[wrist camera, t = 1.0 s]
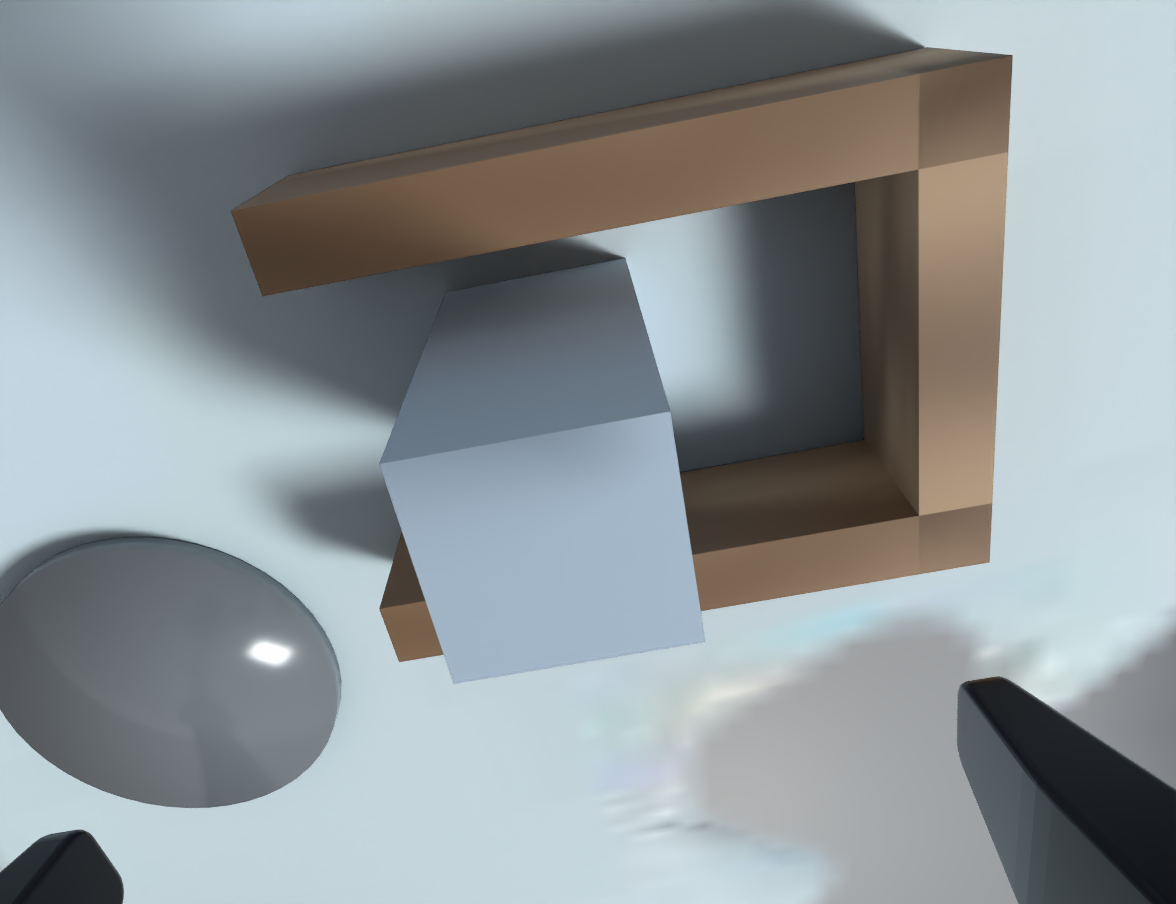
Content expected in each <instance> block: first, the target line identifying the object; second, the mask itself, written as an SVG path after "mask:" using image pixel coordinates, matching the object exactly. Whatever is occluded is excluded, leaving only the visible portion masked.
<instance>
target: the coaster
mask: <svg viewBox="0 0 1176 904" xmlns="http://www.w3.org/2000/svg"><path fill="white" fill-rule="evenodd" d="M340 700H341V676H340V670H339V664H338V661H337V658H336V655H335V652H334V649H333V647H332V645H331V643H330V641H329V639H328V637H327V635H326V633H325V631H324V630H323V628H322V627H321V625H320V624H319V623H318V621H317V620H316V618H315V617H314V615H313V614H312V613H311V612H310V611H309V610H308V609H307V608H306V607H305V606H304V604H303V603H302V602H301V601H300V600H299V599H298V598H297V597H295V596H294V595H293V594H292V593H291V592H290V591H289V590H287V589H286V588H285V587H284V586H283V585H281V584H280V583H278V582H277V581H275V580H274V579H273V578H271V577H270V576H268V575H267V574H265V573H264V572H262V571H260V570H258V569H256V568H255V567H253V566H251V565H249V564H247V563H245V562H244V561H241V560H239V559H237V558H234V557H232V556H229V555H227V554H225V553H222V552H220V551H216V550H213V549H210V548H207V547H203V546H200V545H197V544H192V543H187V542H182V541H177V540H171V539H161V538H151V537H124V538H116V539H108V540H100V541H96V542H92V543H88V544H84V545H80V546H77V547H75V548H72V549H69V550H67V551H64V552H62V553H59V554H58V555H56V556H54V557H52V558H50V559H49V560H47V561H45V562H43V563H42V564H41V565H39V566H38V567H37V568H35V569H34V570H33V571H32V572H30V573H29V574H28V575H27V576H26V577H25V578H24V579H23V580H22V581H21V582H20V583H19V584H18V586H17V587H16V588H15V589H14V590H13V591H12V592H11V593H10V594H9V595H8V597H7V598H6V599H5V600H4V601H3V602H2V604H1V605H0V709H1V711H2V712H3V714H4V716H5V718H6V719H7V720H8V722H9V723H10V724H11V725H12V727H13V728H14V729H15V731H16V732H17V733H18V734H19V735H20V736H21V737H22V738H23V739H24V740H25V741H26V742H27V743H28V744H29V745H30V746H31V747H32V748H33V749H34V750H35V751H36V752H38V753H39V754H40V755H41V756H43V757H44V758H45V759H46V760H47V761H49V762H50V763H52V764H53V765H55V766H56V767H58V768H59V769H61V770H62V771H64V772H65V773H67V774H69V775H71V776H73V777H75V778H77V779H78V780H80V781H82V782H84V783H86V784H88V785H91V786H93V787H95V788H98V789H100V790H102V791H105V792H108V793H111V794H114V795H117V796H120V797H123V798H126V799H130V800H135V801H139V802H143V803H148V804H154V805H161V806H167V807H182V808H209V807H218V806H227V805H232V804H237V803H241V802H246V801H250V800H253V799H256V798H259V797H262V796H265V795H267V794H269V793H271V792H274V791H276V790H278V789H280V788H282V787H284V786H285V785H287V784H288V783H290V782H292V781H293V780H295V779H296V778H297V777H299V776H300V775H301V774H302V773H303V772H305V771H306V770H307V769H308V768H309V767H310V766H311V765H312V764H313V763H314V761H315V760H316V759H317V758H318V757H319V755H320V754H321V752H322V751H323V749H324V747H325V746H326V744H327V742H328V740H329V737H330V735H331V732H332V730H333V727H334V724H335V720H336V717H337V714H338V710H339V705H340Z"/></svg>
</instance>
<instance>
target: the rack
mask: <svg viewBox="0 0 1176 904" xmlns="http://www.w3.org/2000/svg"><path fill="white" fill-rule="evenodd" d="M1011 77H1012V55H1004V54H993V53H982V52H972V51H961V50H950V49H939V48H928V47H926V48H921V49H916V50H911V51H906V52H901V53H896V54H891V55H886V56H881V57H876V58H871V59H866V60H861V61H856V62H851V63H846V64H841V65H836V66H831V67H826V68H821V69H816V70H811V71H806V72H802V73H797V74H792V75H787V76H782V77H777V78H772V79H767V80H762V81H757V82H752V83H747V84H742V85H737V86H732V87H727V88H722V89H717V90H712V91H707V92H702V93H697V94H692V95H687V96H682V97H677V98H672V99H667V100H662V101H657V102H652V103H647V104H642V105H637V106H632V107H627V108H622V109H617V110H612V111H607V112H602V113H597V114H592V115H587V116H582V117H577V118H572V119H567V120H562V121H557V122H552V123H547V124H542V125H537V126H532V127H527V128H522V129H517V130H512V131H507V132H502V133H497V134H492V135H487V136H482V137H477V138H472V139H467V140H462V141H457V142H452V143H447V144H442V145H437V146H432V147H428V148H423V149H418V150H413V151H408V152H403V153H398V154H393V155H388V156H383V157H378V158H373V159H368V160H363V161H358V162H353V163H348V164H343V165H338V166H333V167H328V168H323V169H318V170H313V171H308V172H303V173H298V174H293V175H288V176H287V177H285V178H283V179H282V180H280V181H279V182H277V183H275V184H274V185H272V186H270V187H269V188H267V189H266V190H264V191H262V192H261V193H259V194H257V195H256V196H254V197H253V198H251V199H249V200H248V201H246V202H244V203H243V204H241V205H240V206H238V207H236V208H235V209H233V210H231V213H232V216H233V218H234V221H235V224H236V226H237V229H238V232H239V234H240V237H241V240H242V242H243V245H244V248H245V250H246V253H247V256H248V258H249V261H250V264H251V266H252V269H253V272H254V274H255V277H256V280H257V282H258V285H259V288H260V291H261V293H262V296H267V295H272V294H277V293H282V292H287V291H292V290H298V289H303V288H308V287H313V286H318V285H324V284H329V283H334V282H339V281H344V280H349V279H355V278H360V277H365V276H370V275H375V274H380V273H386V272H391V271H396V270H401V269H406V268H411V267H417V266H422V265H427V264H432V263H437V262H442V261H448V260H453V259H458V258H463V257H468V256H473V255H479V254H484V253H489V252H494V251H499V250H505V249H510V248H515V247H520V246H525V245H530V244H536V243H541V242H546V241H551V240H556V239H561V238H567V237H572V236H577V235H582V234H587V233H592V232H598V231H603V230H608V229H613V228H618V227H623V226H629V225H634V224H639V223H644V222H649V221H655V220H660V219H665V218H670V217H675V216H680V215H686V214H691V213H696V212H701V211H706V210H711V209H717V208H722V207H727V206H732V205H737V204H742V203H748V202H753V201H758V200H763V199H768V198H773V197H779V196H784V195H789V194H794V193H799V192H805V191H810V190H815V189H820V188H825V187H830V186H836V185H841V184H846V183H851V182H855V202H856V230H857V258H858V286H859V315H860V343H861V371H862V399H863V428H864V440H862V441H856V442H850V443H845V444H839V445H834V446H828V447H822V448H817V449H811V450H805V451H800V452H794V453H788V454H783V455H777V456H772V457H766V458H760V459H755V460H749V461H743V462H738V463H732V464H727V465H721V466H715V467H710V468H704V469H698V470H693V471H687V472H682V473H680V479H681V485H682V492H683V498H684V505H685V511H686V518H687V525H688V531H689V538H690V544H691V551H692V557H693V564H694V571H695V577H696V584H697V590H698V597H699V603H700V610H701V611H704V610H710V609H716V608H722V607H728V606H734V605H740V604H746V603H751V602H757V601H763V600H769V599H775V598H781V597H787V596H793V595H799V594H805V593H811V592H817V591H822V590H828V589H834V588H840V587H846V586H852V585H858V584H864V583H870V582H876V581H882V580H887V579H893V578H899V577H905V576H911V575H917V574H923V573H929V572H935V571H941V570H947V569H953V568H958V567H964V566H970V565H976V564H982V563H988V562H990V540H991V518H992V496H993V474H994V452H995V430H996V408H997V386H998V364H999V342H1000V320H1001V298H1002V276H1003V254H1004V232H1005V210H1006V188H1007V166H1008V144H1009V122H1010V100H1011ZM380 612H381V615H382V617H383V620H384V623H385V625H386V628H387V631H388V633H389V636H390V639H391V641H392V644H393V647H394V649H395V652H396V655H397V657H398V660H399V662H403V661H409V660H414V659H420V658H426V657H432V656H438V655H444V654H443V651H442V648H441V645H440V642H439V639H438V636H437V633H436V630H435V627H434V624H433V621H432V618H431V616H430V613H429V610H428V607H427V604H426V601H425V598H424V595H423V592H422V589H421V586H420V583H419V580H418V577H417V574H416V571H415V568H414V565H413V562H412V559H411V557H410V554H409V551H408V548H407V545H406V542H405V539H404V536H403V533H401V536H400V540H399V543H398V547H397V550H396V554H395V557H394V560H393V564H392V567H391V571H390V574H389V578H388V581H387V585H386V588H385V591H384V595H383V598H382V602H381V605H380Z"/></svg>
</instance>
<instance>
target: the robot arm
mask: <svg viewBox="0 0 1176 904" xmlns="http://www.w3.org/2000/svg"><path fill="white" fill-rule="evenodd" d="M957 746H958V752H959V756H960V760H961V763H962V766H963V768H964V771H965V773H966V776H967V778H968V780H969V783H970V786H971V788H972V791H973V793H974V796H975V798H976V800H977V803H978V805H979V808H980V810H981V813H982V815H983V818H984V820H985V823H986V825H987V828H988V830H989V833H990V835H991V838H992V840H993V842H994V845H995V847H996V849H997V852H998V854H999V857H1000V860H1001V862H1002V864H1003V867H1004V869H1005V872H1006V874H1007V877H1008V879H1009V882H1010V884H1011V887H1012V889H1013V892H1014V894H1015V896H1016V899H1017V901H1018V903H1019V904H1176V789H1175V788H1174V787H1172V786H1170V785H1169V784H1167V783H1166V782H1164V781H1163V780H1161V779H1160V778H1158V777H1156V776H1155V775H1154V774H1152V773H1151V772H1149V771H1147V770H1146V769H1145V768H1143V767H1141V766H1140V765H1138V764H1137V763H1135V762H1134V761H1132V760H1131V759H1129V758H1128V757H1126V756H1125V755H1123V754H1122V753H1120V752H1119V751H1117V750H1116V749H1114V748H1113V747H1111V746H1109V745H1108V744H1106V743H1105V742H1103V741H1102V740H1100V739H1099V738H1097V737H1096V736H1094V735H1093V734H1091V733H1090V732H1088V731H1086V730H1085V729H1084V728H1082V727H1081V726H1079V725H1077V724H1076V723H1074V722H1073V721H1071V720H1070V719H1068V718H1067V717H1065V716H1064V715H1062V714H1061V713H1059V712H1058V711H1056V710H1055V709H1053V708H1052V707H1050V706H1049V705H1047V704H1045V703H1044V702H1042V701H1041V700H1039V699H1038V698H1036V697H1035V696H1033V695H1032V694H1030V693H1029V692H1027V691H1026V690H1024V689H1023V688H1021V687H1020V686H1018V685H1017V684H1015V683H1013V682H1012V681H1010V680H1008V679H1006V678H1003V677H990V678H984V679H978V680H972V681H967V682H964V683H962V684H961V685H960V688H959V690H958V709H957ZM123 895H124V889H123V882H122V879H121V877H120V875H119V873H118V872H117V870H116V869H115V867H114V866H113V864H112V863H111V862H110V860H109V859H108V857H107V856H106V854H105V853H104V852H103V850H102V849H101V847H100V846H99V844H98V843H97V841H96V840H95V839H94V837H93V836H92V835H91V834H90V833H88V832H86V831H84V830H73V831H67V832H61V833H55V834H50V835H47V836H44V837H42V838H40V839H38V840H37V841H36V842H35V843H33V844H32V845H31V846H30V847H29V848H28V849H26V850H25V851H24V852H23V853H22V854H21V855H20V856H18V857H17V858H16V859H15V860H14V861H13V862H12V863H10V864H9V865H8V866H7V867H6V868H5V869H3V870H2V871H1V872H0V904H123Z"/></svg>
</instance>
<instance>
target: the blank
mask: <svg viewBox="0 0 1176 904" xmlns="http://www.w3.org/2000/svg"><path fill="white" fill-rule="evenodd" d="M379 465H380V468H381V471H382V474H383V477H384V480H385V483H386V486H387V489H388V492H389V495H390V498H391V500H392V503H393V506H394V509H395V512H396V515H397V518H398V521H399V524H400V527H401V530H402V533H403V536H404V539H405V542H406V545H407V548H408V551H409V554H410V557H411V559H412V562H413V565H414V568H415V571H416V574H417V577H418V580H419V583H420V586H421V589H422V592H423V595H424V598H425V601H426V604H427V607H428V610H429V613H430V616H431V618H432V621H433V624H434V627H435V630H436V633H437V636H438V639H439V642H440V645H441V648H442V651H443V654H444V657H445V660H446V663H447V666H448V669H449V672H450V675H451V677H452V680H453V683H454V684H456V683H462V682H468V681H474V680H480V679H486V678H492V677H498V676H504V675H510V674H516V673H522V672H528V671H534V670H540V669H546V668H552V667H558V666H564V665H570V664H576V663H582V662H588V661H594V660H600V659H606V658H612V657H618V656H624V655H630V654H636V653H642V652H648V651H654V650H660V649H666V648H672V647H678V646H684V645H690V644H696V643H702V642H705V636H704V630H703V623H702V617H701V610H700V603H699V597H698V590H697V584H696V577H695V571H694V564H693V557H692V551H691V544H690V538H689V531H688V525H687V518H686V511H685V505H684V498H683V492H682V485H681V479H680V472H679V465H678V459H677V452H676V446H675V439H674V432H673V426H672V419H671V413H670V409H669V405H668V402H667V399H666V395H665V392H664V388H663V385H662V381H661V378H660V375H659V371H658V368H657V364H656V361H655V358H654V354H653V351H652V347H651V344H650V341H649V337H648V334H647V330H646V327H645V324H644V320H643V317H642V313H641V310H640V307H639V303H638V300H637V296H636V293H635V289H634V286H633V283H632V279H631V276H630V272H629V269H628V266H627V262H626V259H625V258H623V259H618V260H612V261H607V262H602V263H597V264H591V265H586V266H581V267H576V268H570V269H565V270H560V271H555V272H549V273H544V274H539V275H534V276H529V277H523V278H518V279H513V280H508V281H502V282H497V283H492V284H487V285H481V286H476V287H471V288H466V289H460V290H455V291H450V292H446V293H445V296H444V298H443V301H442V303H441V306H440V309H439V311H438V314H437V316H436V319H435V321H434V324H433V327H432V329H431V332H430V334H429V337H428V340H427V342H426V345H425V347H424V350H423V352H422V355H421V358H420V360H419V363H418V365H417V368H416V371H415V373H414V376H413V378H412V381H411V383H410V386H409V389H408V391H407V394H406V396H405V399H404V401H403V404H402V407H401V409H400V412H399V414H398V417H397V420H396V422H395V425H394V427H393V430H392V432H391V435H390V438H389V440H388V443H387V445H386V448H385V451H384V453H383V456H382V458H381V461H380V463H379Z"/></svg>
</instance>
